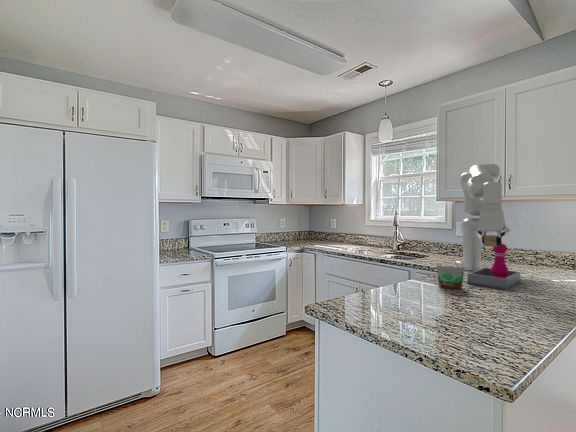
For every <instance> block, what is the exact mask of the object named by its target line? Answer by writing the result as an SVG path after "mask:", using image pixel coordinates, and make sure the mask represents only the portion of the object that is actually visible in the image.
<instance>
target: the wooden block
mask: <svg viewBox="0 0 576 432" xmlns="http://www.w3.org/2000/svg"><path fill="white" fill-rule="evenodd" d="M497 237H498V235H493V234H486V235H484V245H483V246H485V247H493V246H494V247H497Z"/></svg>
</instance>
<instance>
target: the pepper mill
mask: <svg viewBox="0 0 576 432" xmlns="http://www.w3.org/2000/svg"><path fill="white" fill-rule="evenodd" d="M492 251H494V252H493V256H494V263H493V264H492V266H491V267H490V268H491V272H492V273H493V275H492V277H498V278H507V277H506V275H507V274H508V271H509V268H508V266H507V264H506V262H505V258H506V252H507V251H508V246H507V245H506V244H505V243H503V241H502V240H501V244H500V246H497V247H494V246H492Z"/></svg>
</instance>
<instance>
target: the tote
mask: <svg viewBox="0 0 576 432" xmlns="http://www.w3.org/2000/svg"><path fill="white" fill-rule="evenodd" d="M481 268H482V269H479V270H476V271H470V272H469V273H467V282H466V283H467V285H471V286H473V285H474V286H477V287H484V288H491V289H497V290H503V291H504V290H505V291H508V290H510V289H511V288H512V287H514V286H516V285H517V284H519V283H521V272H520V271H516V270H514V271H513V270H508V274H507V275H506V277H507V278H498V277H492V275H493V273H492V272H491V268H492V267H481Z"/></svg>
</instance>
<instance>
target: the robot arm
mask: <svg viewBox="0 0 576 432" xmlns="http://www.w3.org/2000/svg"><path fill="white" fill-rule="evenodd" d="M500 175H501V169H500V167H499V165H498V164H496V163H481V164H480V163H479V164H475V165H473V166H471V167H470V169H469V171H467V172H462V174H461V175H460V179H459V180H460V186H461V189H462V191H463V198H464V199H463V203H464V205H463V207H464V214H465V215H466V216H468V217H469V218H465V219H463V220H462V222H461V229H462V239H463V240H462V260H461V261H459V260H458V261H457V260H456V261H455V264H456V265H460V266H459V268H462V267H464V268H465V271H470V272H473V271H476V270H479V269H482V268H483V267H482V266H481V265H482V263H481V262H482V261H481V259H482V258H481V257H482V245H483V246H484V235H493V234H494V233H495V232H496V236H498V237H497V246H500V244H501V241H502V238H503V237H504V236H505V235H507V234H508V233H510V232H511V229H510V228H509V227H508V226H507V225H506V223H505V221H506V220H505V214H504V210H502V207H503V206H502V205H503V203H502V201H503V199H502V198H503V192H502V191H503V186H502V185H503V184H502V183H501V182H500V181H497V180H498V178H499V177H500ZM476 217H477V218H476ZM478 217H479V218H478ZM478 235H480V236H481V238H480V237H478Z"/></svg>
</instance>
